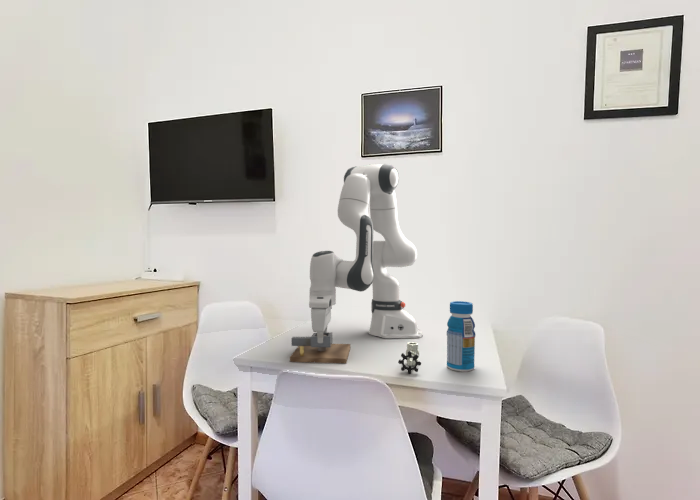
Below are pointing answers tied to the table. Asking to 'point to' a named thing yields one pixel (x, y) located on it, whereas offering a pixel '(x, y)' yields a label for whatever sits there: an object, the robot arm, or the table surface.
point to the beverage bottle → (460, 337)
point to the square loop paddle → (313, 341)
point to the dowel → (301, 350)
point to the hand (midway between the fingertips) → (322, 339)
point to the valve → (410, 357)
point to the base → (322, 354)
